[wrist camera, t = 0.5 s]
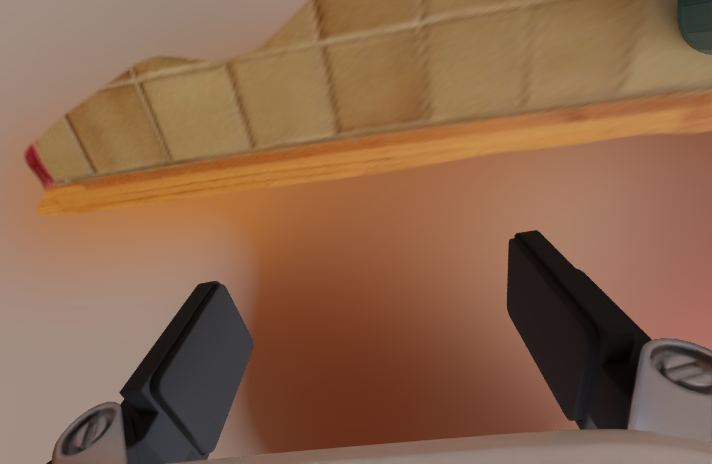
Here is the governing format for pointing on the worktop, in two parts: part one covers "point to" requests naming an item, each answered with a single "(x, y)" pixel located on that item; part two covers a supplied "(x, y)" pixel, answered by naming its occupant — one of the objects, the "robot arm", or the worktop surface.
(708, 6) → the pot
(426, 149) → the worktop surface
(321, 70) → the worktop surface
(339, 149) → the worktop surface
